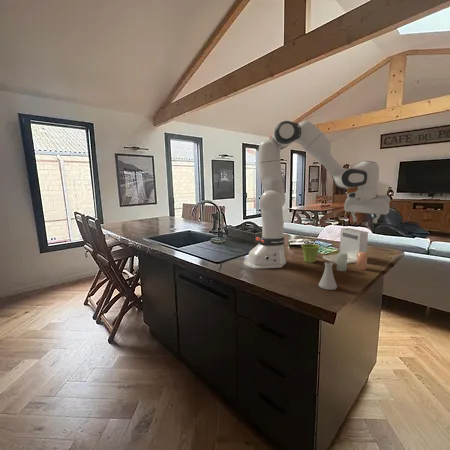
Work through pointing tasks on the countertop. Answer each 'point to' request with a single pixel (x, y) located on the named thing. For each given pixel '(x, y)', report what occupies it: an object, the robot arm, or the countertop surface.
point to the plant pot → (310, 252)
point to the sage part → (342, 261)
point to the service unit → (350, 244)
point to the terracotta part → (361, 260)
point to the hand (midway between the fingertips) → (364, 221)
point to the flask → (328, 278)
